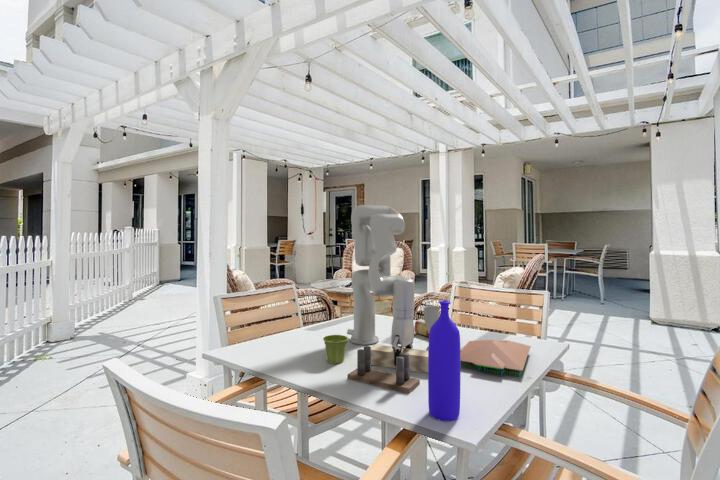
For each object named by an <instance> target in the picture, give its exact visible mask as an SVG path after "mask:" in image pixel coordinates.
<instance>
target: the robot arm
mask: <svg viewBox="0 0 720 480" xmlns="http://www.w3.org/2000/svg"><path fill="white" fill-rule="evenodd" d="M350 218H351V219H350V220H351V226H352V228H353V229H352V230H353V233H354V260H355V262H354V263H356V265H357V266H359V267H368V268H367V269H365V268H364V269H358V270H355V271H354V272H353V273H352V275H351V286H352V295H353V296H352V297H353V329H351V328H348V329H347V331H346V335H351V337H350V338H349V339H350V342H351V343H352V344H354V345H362V346H363V345H364V346H368V345H369V346H370V345H374V344H377V343H379V341H380V340H379V339H380V338H379V337H378V336H376V300H375V297H374V296H376V297H377V298H384V297H392V302H393V303H392V317H393V318H392V325H391V336H390V337H391V339H390V346H392V348H393V352H394V365H395V366H396V357H402V353H403V348H409V349H414V348H413V347H414V346H413V343H414V338H415V337H414V336H415V322H414V319H415V282H414V279H411V278H407V277H405V276H403V275H391V256H392V255H393V254H395V253H396V252H397V244H396V240H395V239H396V238H395V236H394V235H401V234H403V233H404V231H405V229H406V223H405V220H404V217H403V215H401V213H399V212H398V211H397V210H395V209H394V208H393V207H391V206H389V205H378V204H377V205H375V204H360V205H356V206H355V207H353V209H352V211H351V215H350ZM371 292H372V293H371ZM372 294H373V295H374V296H373V295H372ZM398 348H401V349H400V351H399V349H398Z"/></svg>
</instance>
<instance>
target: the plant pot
mask: <svg viewBox="0 0 720 480" xmlns="http://www.w3.org/2000/svg"><path fill="white" fill-rule="evenodd" d="M322 340H323V342H324V345H325V352H326V353H325V354H326V360H327V362H328V363H329V364H334V365H336V364H342V363H343V362H344V360H345V355H346V354H345V353H346V347H347V342H348V341H349V337H348V336H347V335H341V334H330V335H326V336H324V337H323V339H322Z"/></svg>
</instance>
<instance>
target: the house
mask: <svg viewBox="0 0 720 480" xmlns="http://www.w3.org/2000/svg"><path fill="white" fill-rule="evenodd" d="M531 347H532V346H531V345H528V344H523V343H520V342H516V341H512V340H509V339H507V340H495V339H489V340H488V339H486V340H469V341H468V342H467V343H466V344H465V346H464V347H463V348H462V349H460V363H462V362H464V363H462V366H464V367H465V369H466V366H467V363H470V364H468V367H472V368H471V369H472V370H473V369H474V368H475V370H478V372H479V371H481V372H482V369H483V368H484V375H485V374H486V372H487V375H488V371H489V372H490V369H491V372H492V375H493V372H494V373H497V375H496V376H498V377H499V374H500V377H502V376H503V374H504V373H506V372H507V374H506V375H507V377H508V373H509V374H513V371H519V372H515V375H516V374H517V375H519V378H521V376H522V374H523V372H524V368H525V366H526V365H525V364H526V362H527V358H528V356H529V352H530V349H531ZM471 363H472V365H471ZM473 367H474V368H473ZM488 368H489V369H488ZM493 369H494V370H493ZM508 369H509V370H513V371H509V372H508Z"/></svg>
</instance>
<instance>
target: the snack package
mask: <svg viewBox="0 0 720 480" xmlns="http://www.w3.org/2000/svg"><path fill="white" fill-rule="evenodd" d="M429 332H430V331H429V330H428V329H427V326H426V324H425V321H424V318H423V319H421V318H420V319H417V320H416V321H414V334H418V335H421V336H424V337H428V338H429Z"/></svg>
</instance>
